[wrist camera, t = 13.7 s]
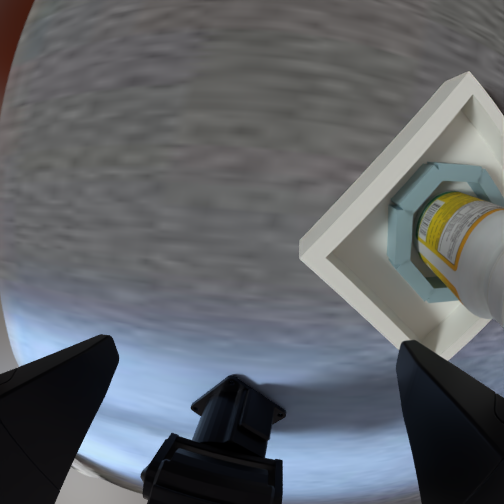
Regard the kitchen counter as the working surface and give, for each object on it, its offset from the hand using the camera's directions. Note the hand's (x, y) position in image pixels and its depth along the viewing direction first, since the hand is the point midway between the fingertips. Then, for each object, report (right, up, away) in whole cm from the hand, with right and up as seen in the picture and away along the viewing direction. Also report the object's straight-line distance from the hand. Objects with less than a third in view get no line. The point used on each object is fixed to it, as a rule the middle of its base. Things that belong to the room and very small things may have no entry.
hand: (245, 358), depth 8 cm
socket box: (+13, +5, +9) cm, 16 cm away
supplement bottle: (+13, +4, +9) cm, 16 cm away
